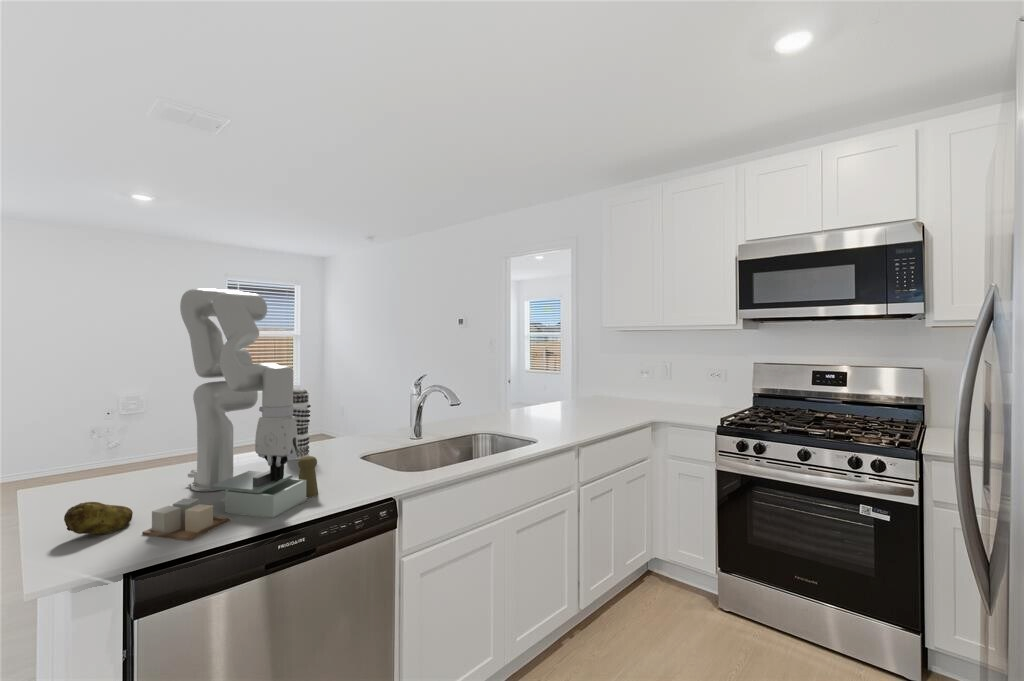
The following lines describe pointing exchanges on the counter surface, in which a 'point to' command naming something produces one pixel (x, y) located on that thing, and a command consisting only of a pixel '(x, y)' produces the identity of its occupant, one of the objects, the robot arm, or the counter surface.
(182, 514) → the grey block
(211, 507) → the sandstone block
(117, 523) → the potato
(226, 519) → the tray
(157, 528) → the grey block
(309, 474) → the cork
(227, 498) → the bin
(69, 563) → the counter surface
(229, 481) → the lid
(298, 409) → the decorative candle
